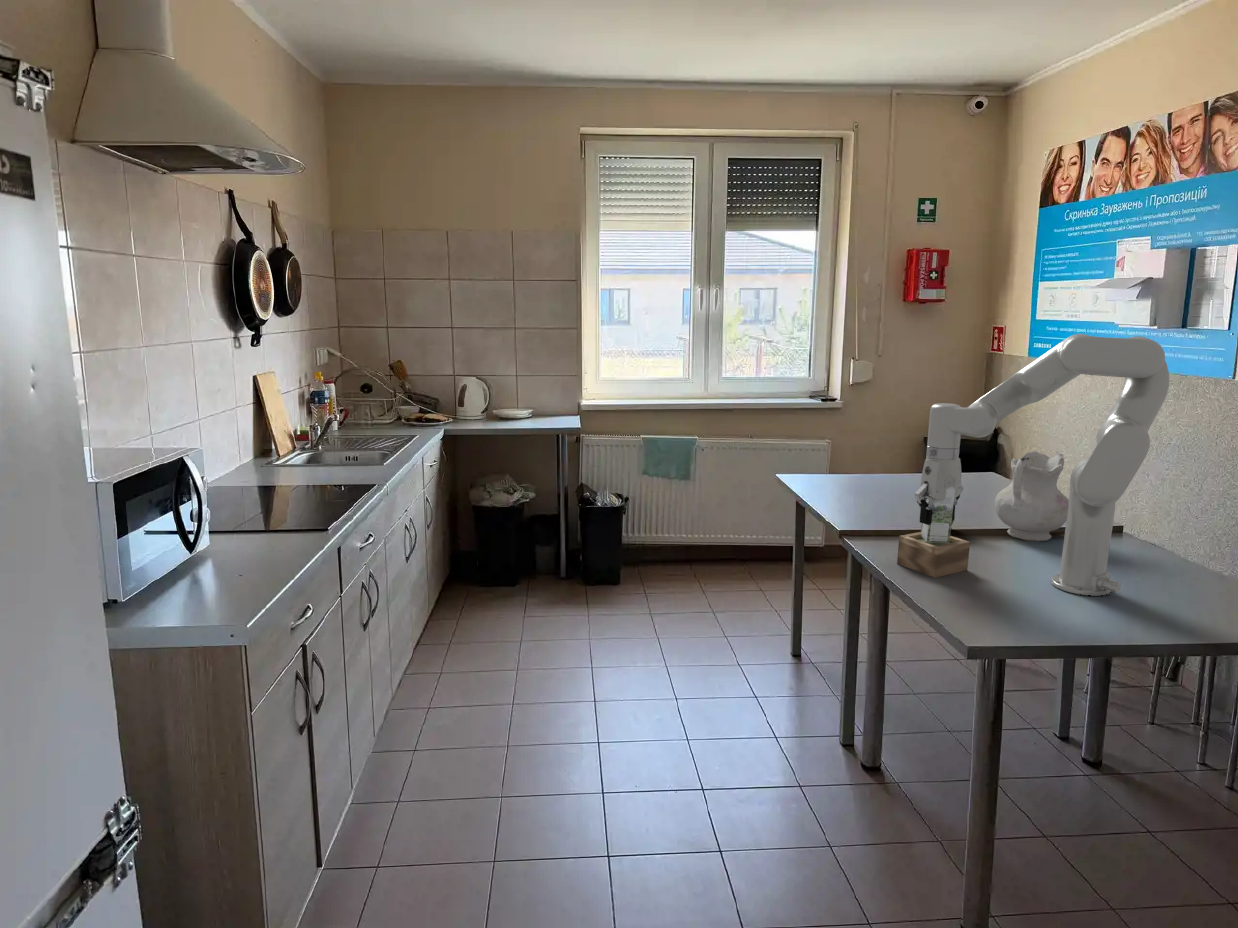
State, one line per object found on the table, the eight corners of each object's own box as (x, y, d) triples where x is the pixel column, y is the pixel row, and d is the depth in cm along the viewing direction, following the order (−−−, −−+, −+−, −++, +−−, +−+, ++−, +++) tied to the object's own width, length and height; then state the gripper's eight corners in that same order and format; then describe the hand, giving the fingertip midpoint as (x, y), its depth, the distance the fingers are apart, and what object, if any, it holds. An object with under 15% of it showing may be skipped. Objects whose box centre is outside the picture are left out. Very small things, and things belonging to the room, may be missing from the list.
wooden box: (967, 570, 208) (970, 541, 206) (934, 577, 202) (937, 548, 201) (929, 556, 218) (931, 529, 217) (896, 563, 213) (899, 535, 211)
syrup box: (943, 536, 211) (948, 481, 208) (950, 543, 206) (955, 487, 203) (920, 535, 212) (925, 481, 209) (926, 542, 206) (931, 486, 203)
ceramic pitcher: (1054, 555, 224) (1073, 467, 218) (979, 536, 235) (996, 452, 229) (1068, 537, 241) (1086, 455, 235) (997, 520, 252) (1013, 442, 246)
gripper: (930, 459, 197) (924, 529, 200) (978, 452, 205) (972, 520, 209) (906, 453, 203) (900, 522, 207) (953, 447, 211) (948, 513, 215)
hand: (936, 521), depth 208 cm, fingers closed on syrup box, 7 cm apart
